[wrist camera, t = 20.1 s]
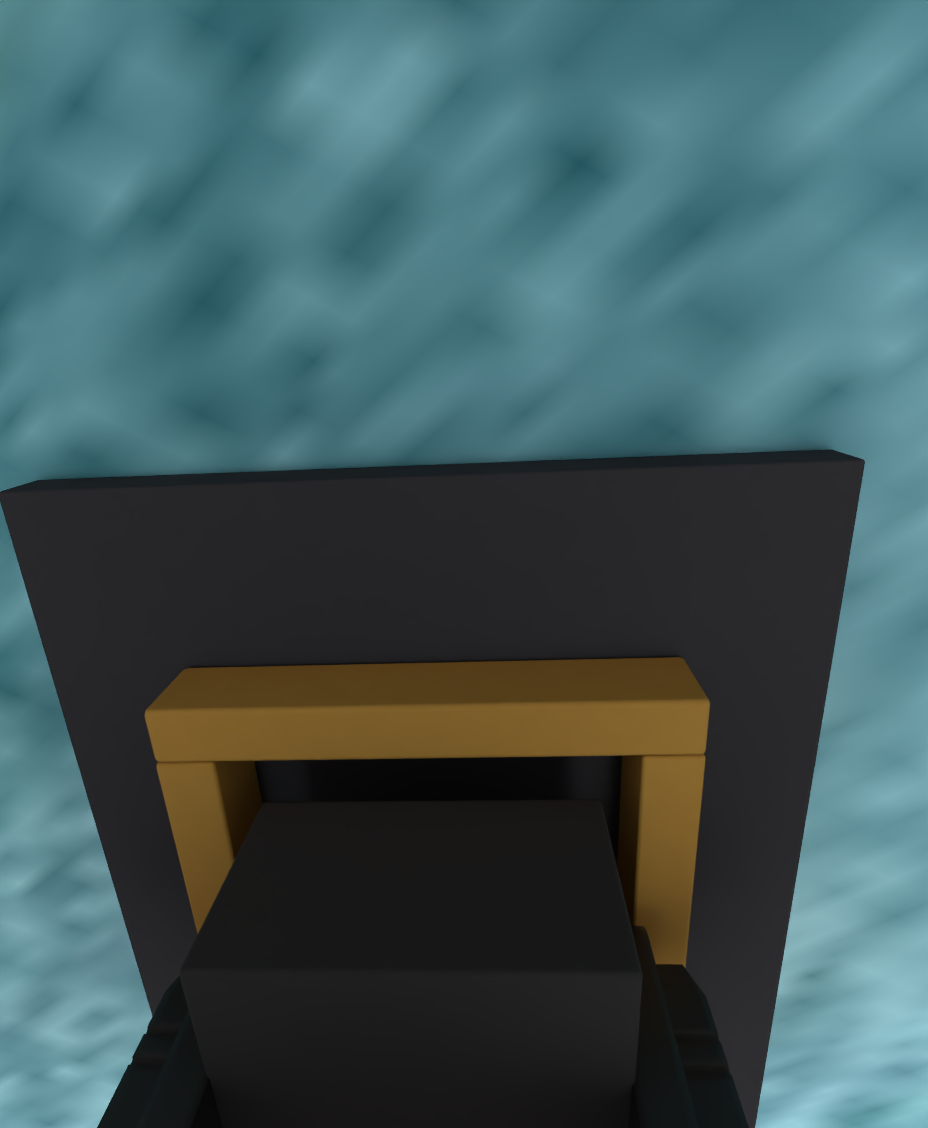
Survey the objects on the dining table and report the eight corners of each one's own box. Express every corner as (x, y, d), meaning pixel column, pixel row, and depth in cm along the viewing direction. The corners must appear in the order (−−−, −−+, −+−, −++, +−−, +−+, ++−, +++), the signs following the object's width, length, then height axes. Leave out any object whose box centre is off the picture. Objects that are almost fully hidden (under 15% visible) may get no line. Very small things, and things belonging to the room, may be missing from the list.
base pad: (37, 479, 11) (-82, 515, 9) (833, 448, 11) (931, 479, 8) (200, 1076, 17) (151, 1197, 14) (739, 1083, 16) (783, 1212, 14)
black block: (261, 799, 10) (175, 973, 7) (601, 796, 10) (644, 977, 7) (309, 1050, 12) (254, 1262, 9) (592, 1054, 12) (623, 1273, 9)
